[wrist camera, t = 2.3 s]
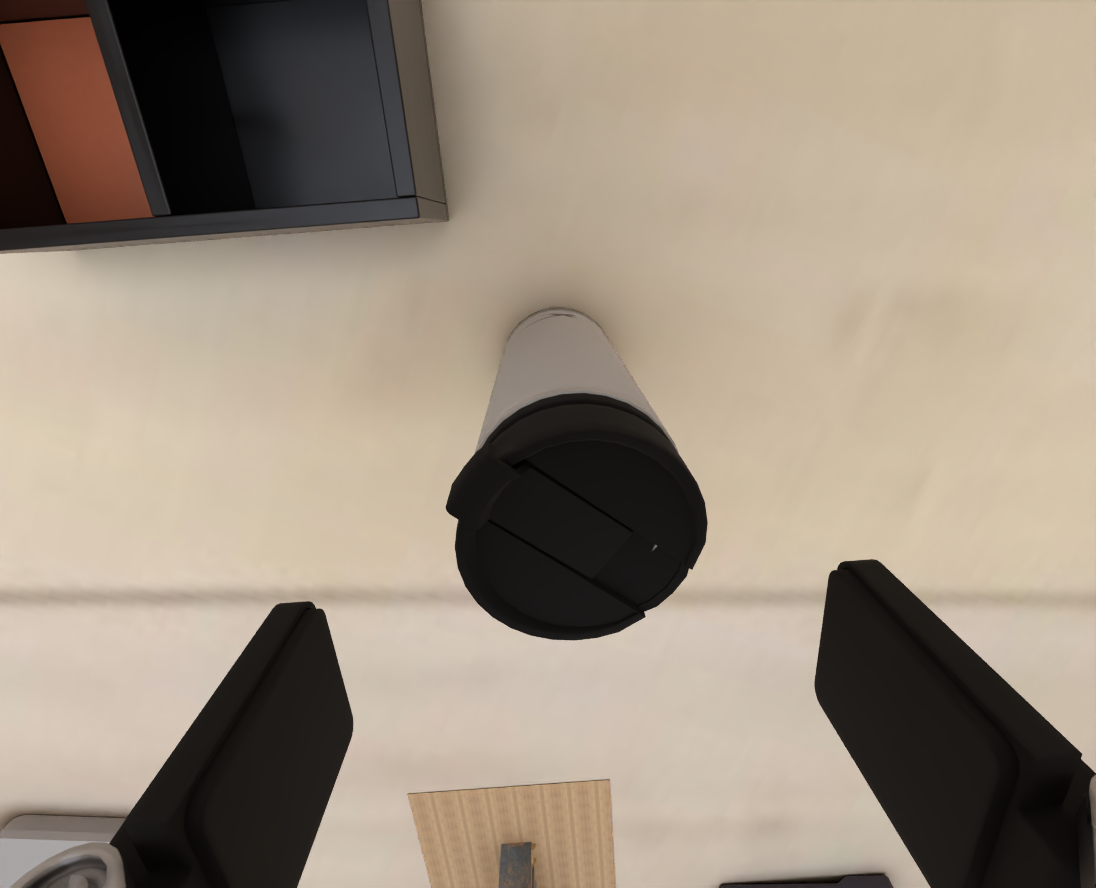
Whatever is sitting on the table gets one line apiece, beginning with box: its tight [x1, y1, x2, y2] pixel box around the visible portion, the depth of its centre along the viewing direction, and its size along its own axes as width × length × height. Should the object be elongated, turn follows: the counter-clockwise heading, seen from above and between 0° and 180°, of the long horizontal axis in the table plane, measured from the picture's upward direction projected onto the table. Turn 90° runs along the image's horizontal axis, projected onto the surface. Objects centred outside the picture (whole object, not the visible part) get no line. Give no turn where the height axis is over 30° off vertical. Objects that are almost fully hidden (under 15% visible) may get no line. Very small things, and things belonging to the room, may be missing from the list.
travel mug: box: [446, 308, 707, 640], centre depth 22 cm, size 6×7×20 cm
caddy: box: [0, 0, 449, 254], centre depth 23 cm, size 10×20×8 cm, turn 94°
